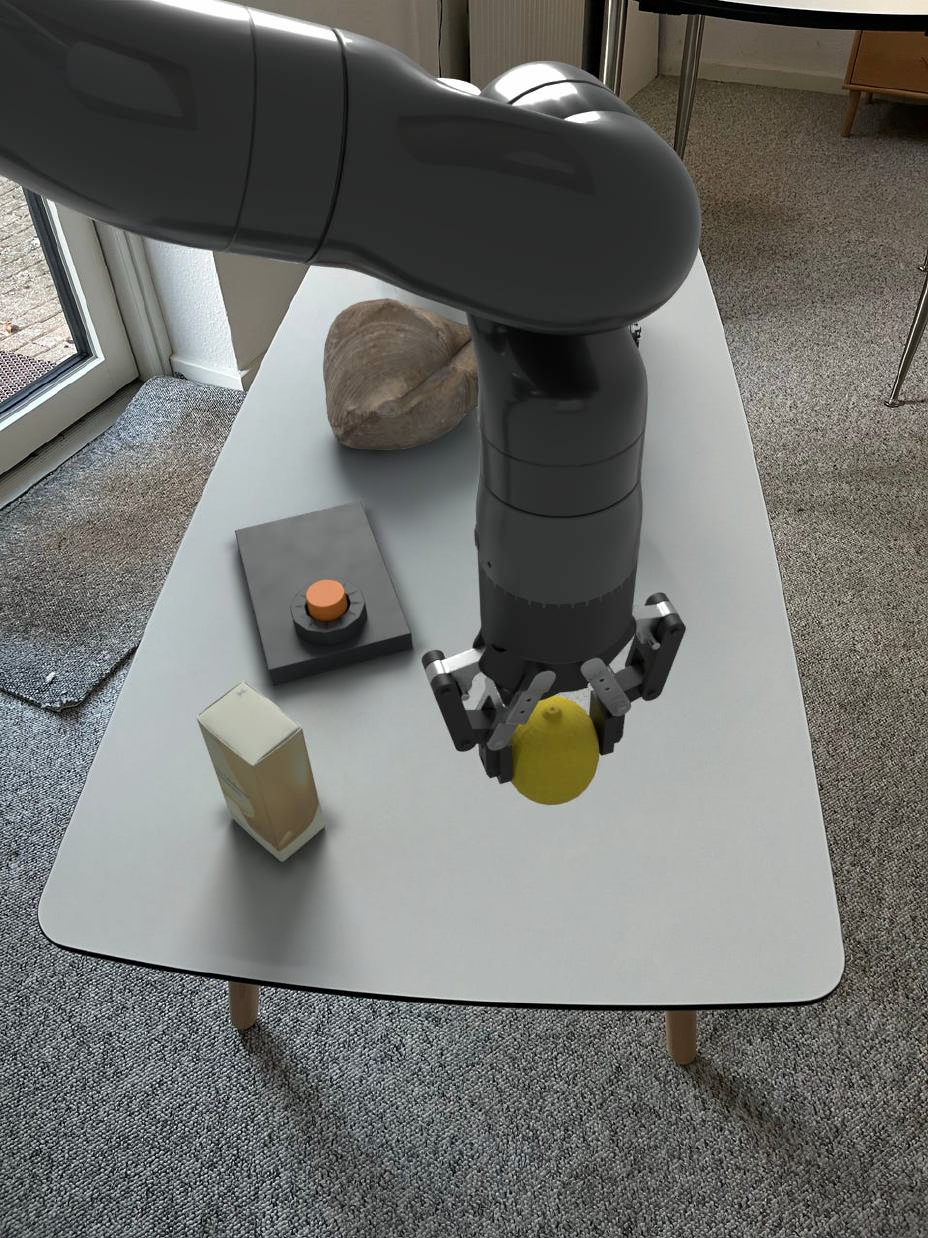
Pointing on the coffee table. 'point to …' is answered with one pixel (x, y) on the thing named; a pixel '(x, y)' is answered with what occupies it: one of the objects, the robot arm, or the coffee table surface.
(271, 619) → the dark grey base plate
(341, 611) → the button
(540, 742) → the lemon
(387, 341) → the seashell
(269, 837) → the cosmetic box
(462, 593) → the coffee table surface
